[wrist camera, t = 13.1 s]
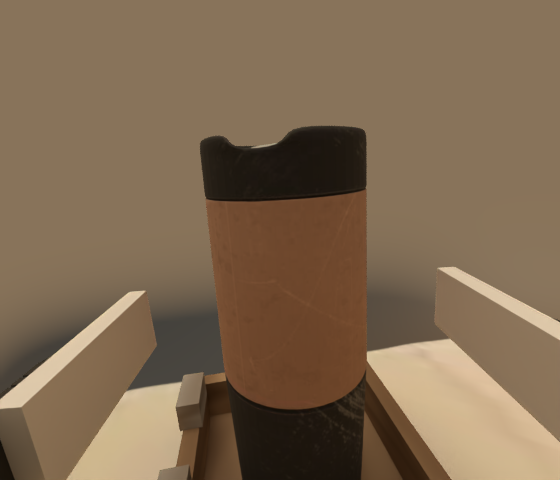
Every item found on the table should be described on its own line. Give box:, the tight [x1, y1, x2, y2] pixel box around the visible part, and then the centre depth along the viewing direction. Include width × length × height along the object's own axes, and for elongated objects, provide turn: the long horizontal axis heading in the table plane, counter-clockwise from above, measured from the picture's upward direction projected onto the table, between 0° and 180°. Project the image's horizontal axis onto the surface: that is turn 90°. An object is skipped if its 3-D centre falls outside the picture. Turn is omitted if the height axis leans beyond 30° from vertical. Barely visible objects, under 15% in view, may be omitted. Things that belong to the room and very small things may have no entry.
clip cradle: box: [158, 362, 451, 480], centre depth 18 cm, size 15×15×6 cm
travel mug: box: [200, 126, 367, 480], centre depth 16 cm, size 8×8×20 cm
